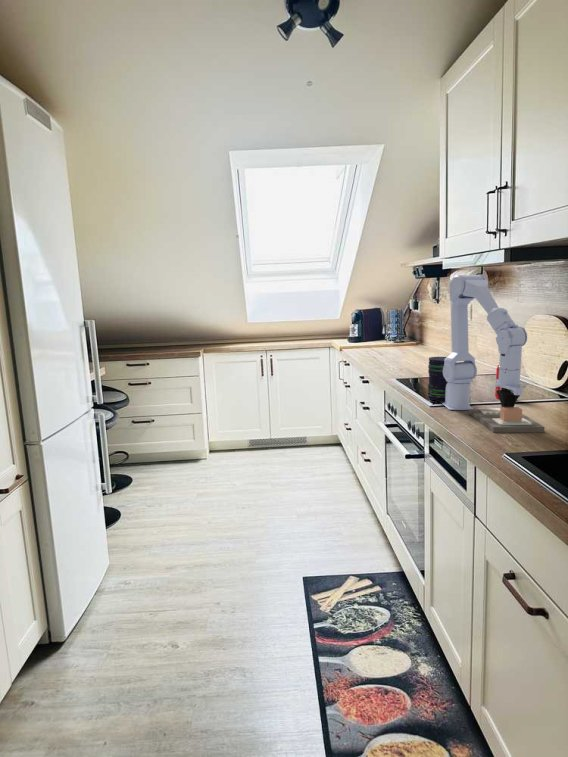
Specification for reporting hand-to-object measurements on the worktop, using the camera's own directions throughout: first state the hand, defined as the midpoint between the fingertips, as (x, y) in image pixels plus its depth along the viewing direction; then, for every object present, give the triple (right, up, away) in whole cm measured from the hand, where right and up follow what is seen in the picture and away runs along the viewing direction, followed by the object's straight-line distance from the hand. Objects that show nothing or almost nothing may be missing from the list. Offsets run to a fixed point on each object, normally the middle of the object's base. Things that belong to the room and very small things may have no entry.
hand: (507, 414), depth 152 cm
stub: (0, -2, -4) cm, 4 cm away
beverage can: (+13, +3, +35) cm, 37 cm away
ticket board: (0, -3, +3) cm, 4 cm away
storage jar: (-9, +3, +36) cm, 37 cm away
